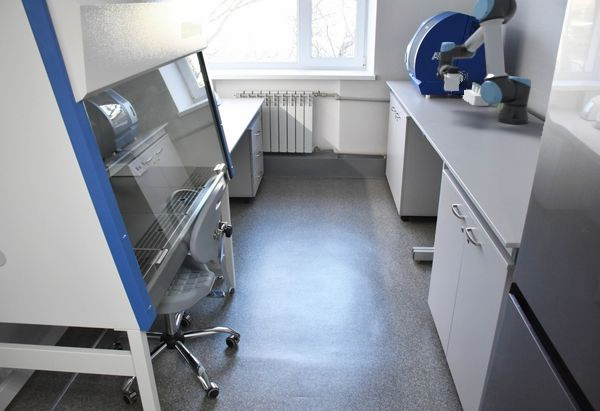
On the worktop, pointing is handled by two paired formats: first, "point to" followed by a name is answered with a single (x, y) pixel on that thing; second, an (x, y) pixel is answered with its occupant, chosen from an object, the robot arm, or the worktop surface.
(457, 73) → the medicine bottle
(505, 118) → the robot arm
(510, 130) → the worktop surface
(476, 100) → the tube rack
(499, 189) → the worktop surface
